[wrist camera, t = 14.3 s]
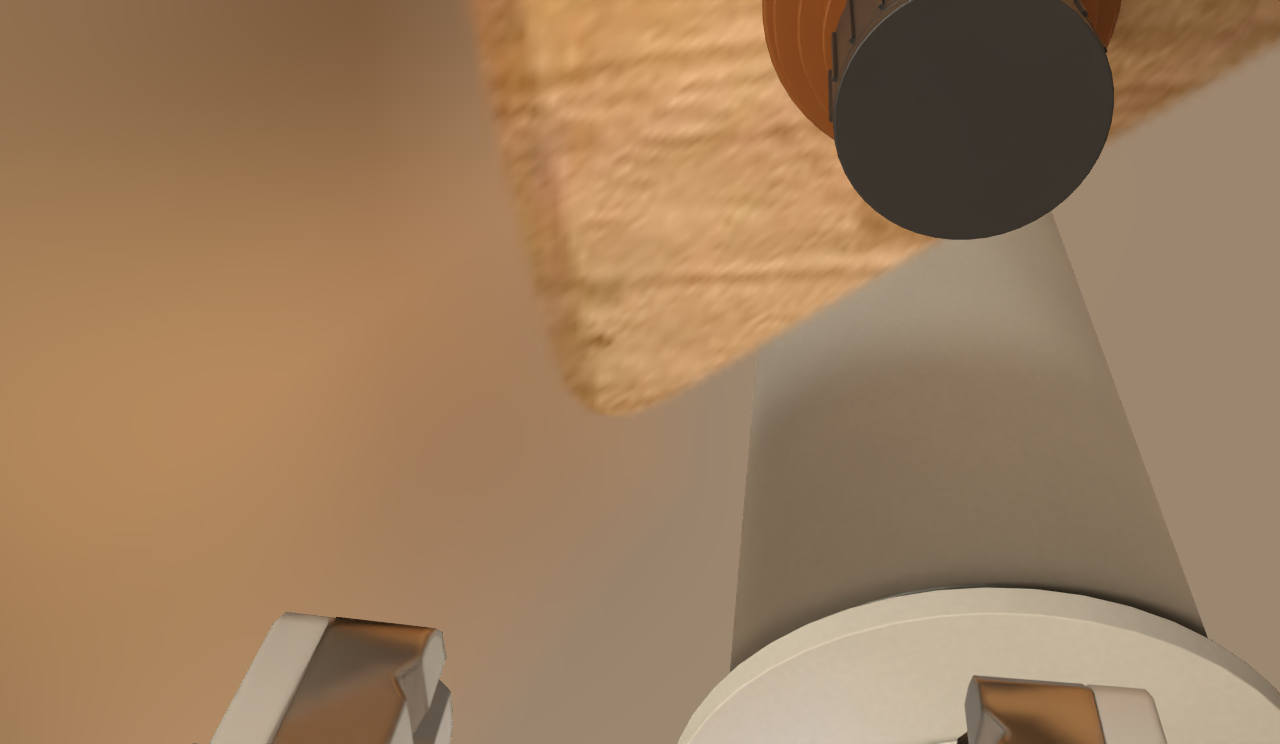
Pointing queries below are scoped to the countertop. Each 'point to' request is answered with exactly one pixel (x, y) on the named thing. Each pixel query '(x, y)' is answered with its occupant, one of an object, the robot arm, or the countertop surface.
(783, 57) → the bottle
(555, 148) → the countertop surface
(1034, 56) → the cap
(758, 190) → the countertop surface
